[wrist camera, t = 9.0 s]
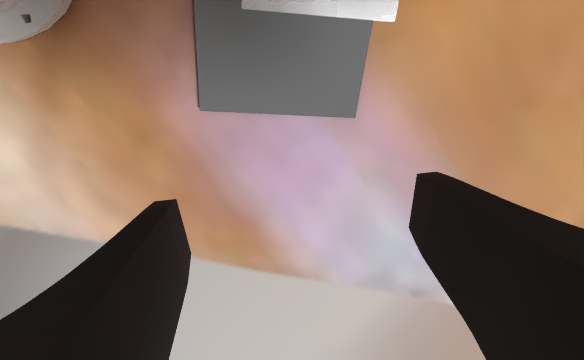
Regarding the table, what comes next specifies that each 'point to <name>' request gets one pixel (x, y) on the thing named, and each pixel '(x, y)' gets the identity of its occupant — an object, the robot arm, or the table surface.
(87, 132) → the table surface
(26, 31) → the mechanical component
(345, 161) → the table surface
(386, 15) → the alloy block
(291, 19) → the rubber mat
